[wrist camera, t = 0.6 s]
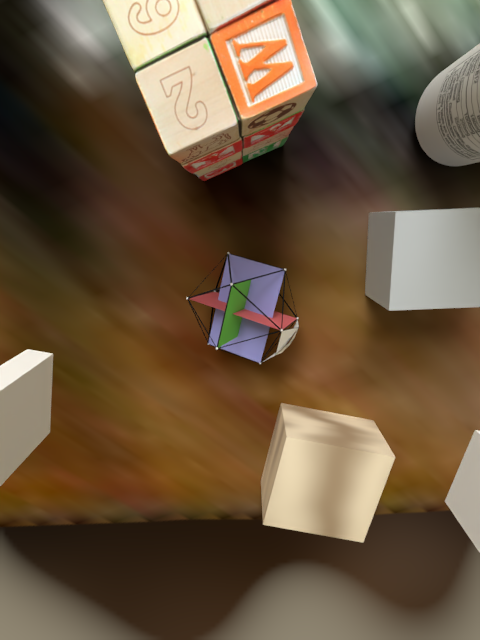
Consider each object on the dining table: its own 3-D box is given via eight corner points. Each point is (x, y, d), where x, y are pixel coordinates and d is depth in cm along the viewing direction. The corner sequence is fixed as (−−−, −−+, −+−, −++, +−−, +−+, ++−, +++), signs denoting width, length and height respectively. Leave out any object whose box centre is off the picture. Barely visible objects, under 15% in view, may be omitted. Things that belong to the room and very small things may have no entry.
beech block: (260, 479, 33) (262, 524, 28) (280, 401, 30) (286, 436, 26) (346, 494, 33) (363, 542, 28) (372, 419, 31) (395, 457, 26)
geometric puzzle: (163, 333, 26) (221, 387, 21) (180, 240, 25) (249, 270, 19) (240, 332, 31) (306, 376, 25) (260, 253, 29) (336, 280, 23)
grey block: (364, 294, 28) (388, 310, 23) (368, 212, 26) (395, 212, 21) (444, 290, 27) (485, 306, 23) (453, 208, 26) (500, 206, 21)
